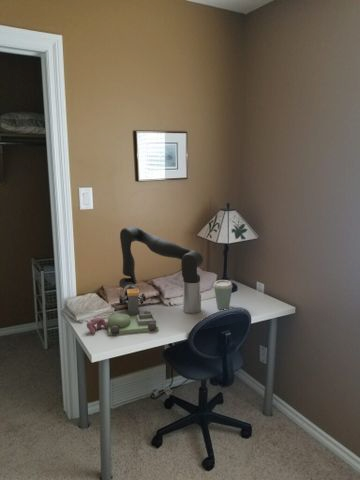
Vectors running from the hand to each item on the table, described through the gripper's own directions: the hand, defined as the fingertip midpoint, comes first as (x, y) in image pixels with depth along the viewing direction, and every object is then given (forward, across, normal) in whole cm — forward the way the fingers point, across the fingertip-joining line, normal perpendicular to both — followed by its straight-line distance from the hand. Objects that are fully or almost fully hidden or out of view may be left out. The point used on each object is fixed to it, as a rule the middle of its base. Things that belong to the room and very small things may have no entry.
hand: (133, 303), depth 206 cm
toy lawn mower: (+11, -2, +8) cm, 14 cm away
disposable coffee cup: (-2, +50, +8) cm, 51 cm away
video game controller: (+12, -19, +8) cm, 24 cm away
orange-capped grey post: (-2, 0, +8) cm, 8 cm away
